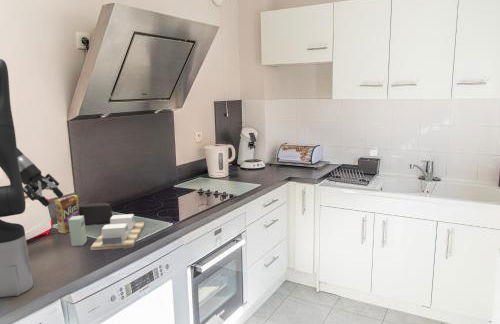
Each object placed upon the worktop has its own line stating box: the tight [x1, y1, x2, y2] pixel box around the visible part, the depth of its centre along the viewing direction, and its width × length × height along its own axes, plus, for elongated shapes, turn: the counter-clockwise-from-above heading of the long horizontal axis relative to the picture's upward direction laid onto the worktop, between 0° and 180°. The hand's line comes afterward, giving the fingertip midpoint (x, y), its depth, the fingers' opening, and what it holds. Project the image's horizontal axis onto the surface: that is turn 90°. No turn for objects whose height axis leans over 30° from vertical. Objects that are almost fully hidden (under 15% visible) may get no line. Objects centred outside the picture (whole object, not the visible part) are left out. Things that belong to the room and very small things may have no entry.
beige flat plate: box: [101, 221, 137, 246], centre depth 159 cm, size 25×8×1 cm, turn 5°
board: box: [89, 221, 146, 251], centre depth 159 cm, size 26×16×1 cm, turn 5°
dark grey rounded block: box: [79, 202, 113, 226], centre depth 176 cm, size 16×5×9 cm, turn 96°
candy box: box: [54, 194, 80, 234], centre depth 167 cm, size 9×4×15 cm, turn 152°
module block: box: [68, 216, 88, 247], centre depth 152 cm, size 4×5×11 cm
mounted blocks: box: [101, 213, 136, 244], centre depth 158 cm, size 24×9×5 cm, turn 5°
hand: (55, 200), depth 146 cm, fingers open, 8 cm apart
